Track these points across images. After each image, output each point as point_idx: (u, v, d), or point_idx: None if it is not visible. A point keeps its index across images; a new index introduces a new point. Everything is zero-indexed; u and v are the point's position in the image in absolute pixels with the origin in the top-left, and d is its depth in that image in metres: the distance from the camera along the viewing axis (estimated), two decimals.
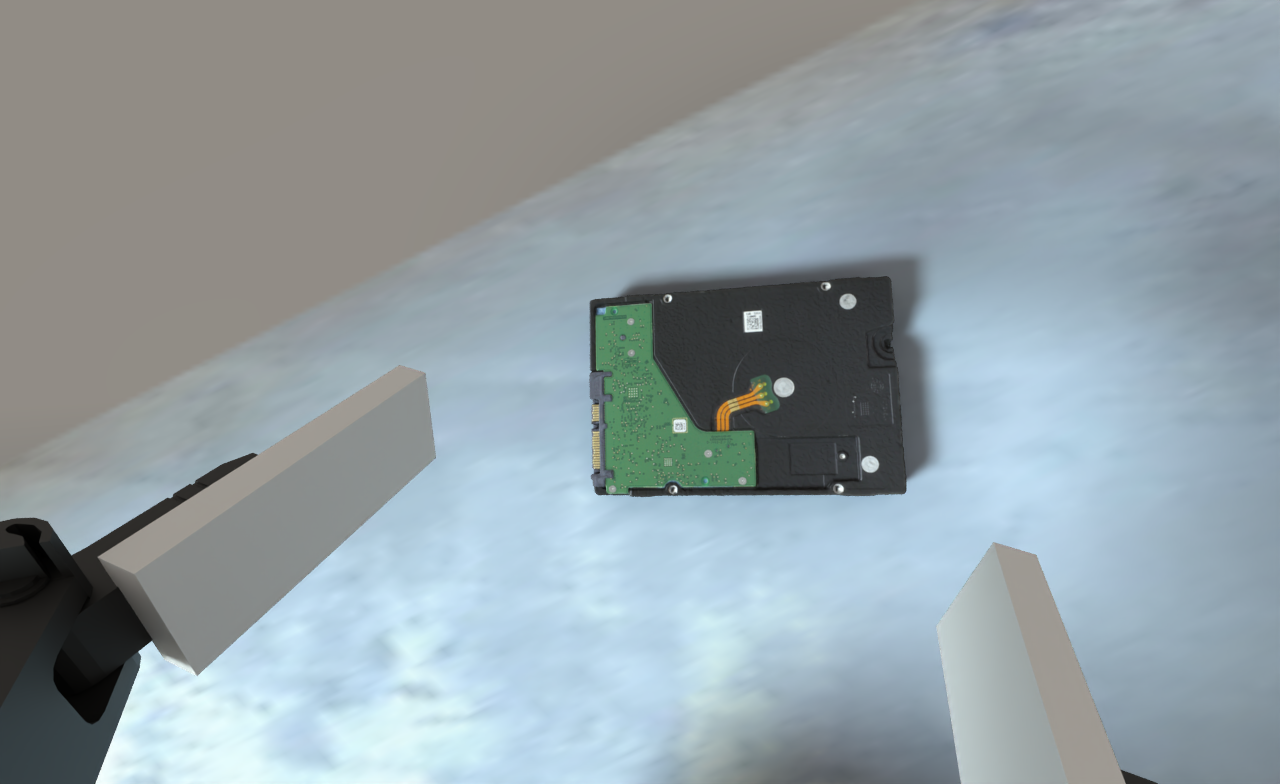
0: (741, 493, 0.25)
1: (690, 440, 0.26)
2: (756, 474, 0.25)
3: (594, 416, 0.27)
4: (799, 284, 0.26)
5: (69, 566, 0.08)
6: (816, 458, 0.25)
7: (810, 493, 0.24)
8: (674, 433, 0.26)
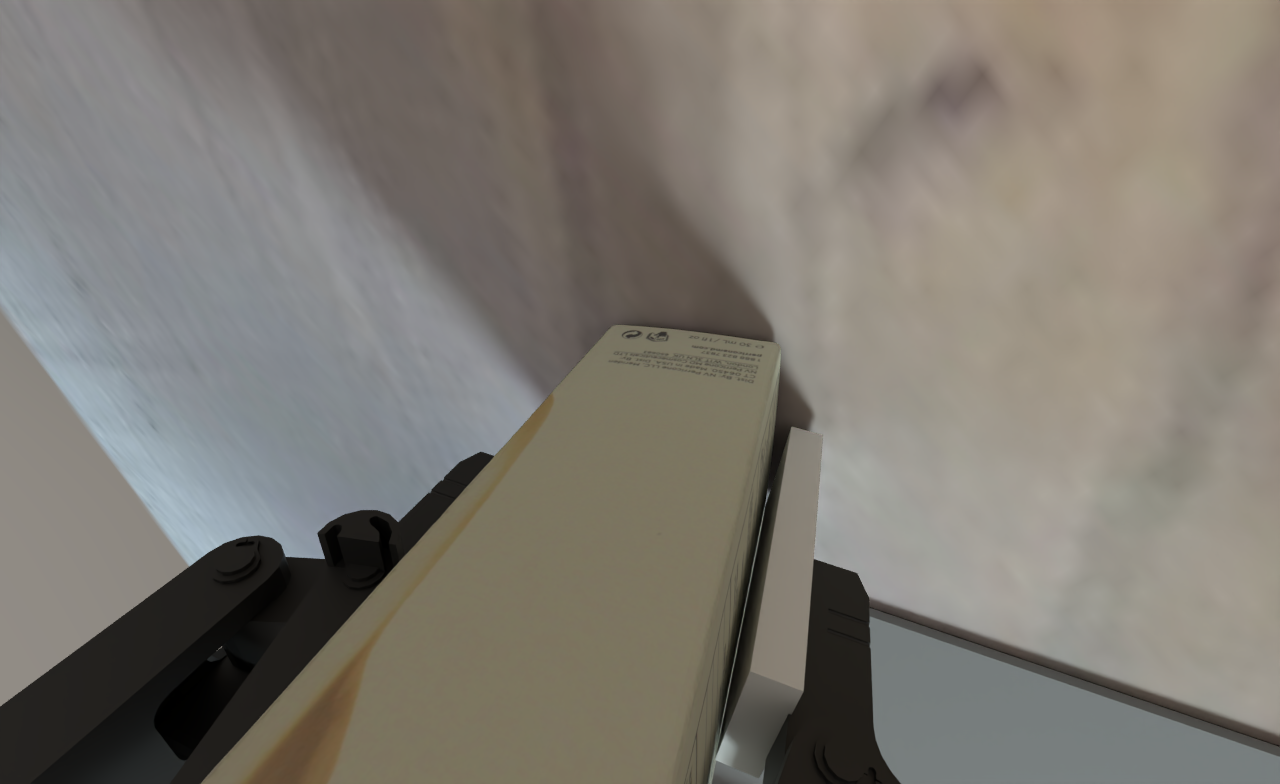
0: None
1: None
2: None
3: None
4: None
5: None
6: None
7: None
8: None
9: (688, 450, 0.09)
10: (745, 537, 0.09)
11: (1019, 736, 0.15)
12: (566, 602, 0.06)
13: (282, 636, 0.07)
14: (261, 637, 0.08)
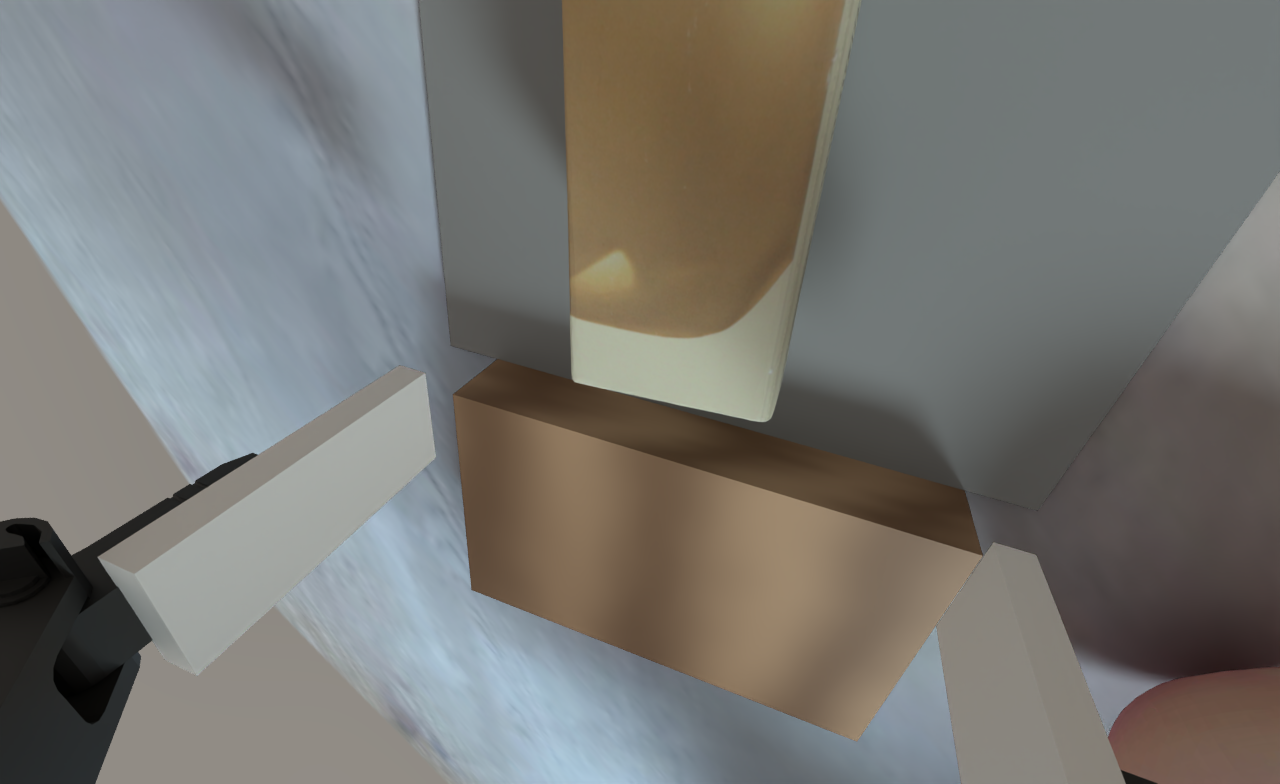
0: None
1: None
2: None
3: None
4: None
5: (69, 566, 0.08)
6: None
7: None
8: None
9: None
10: None
11: (943, 18, 0.11)
12: None
13: None
14: None
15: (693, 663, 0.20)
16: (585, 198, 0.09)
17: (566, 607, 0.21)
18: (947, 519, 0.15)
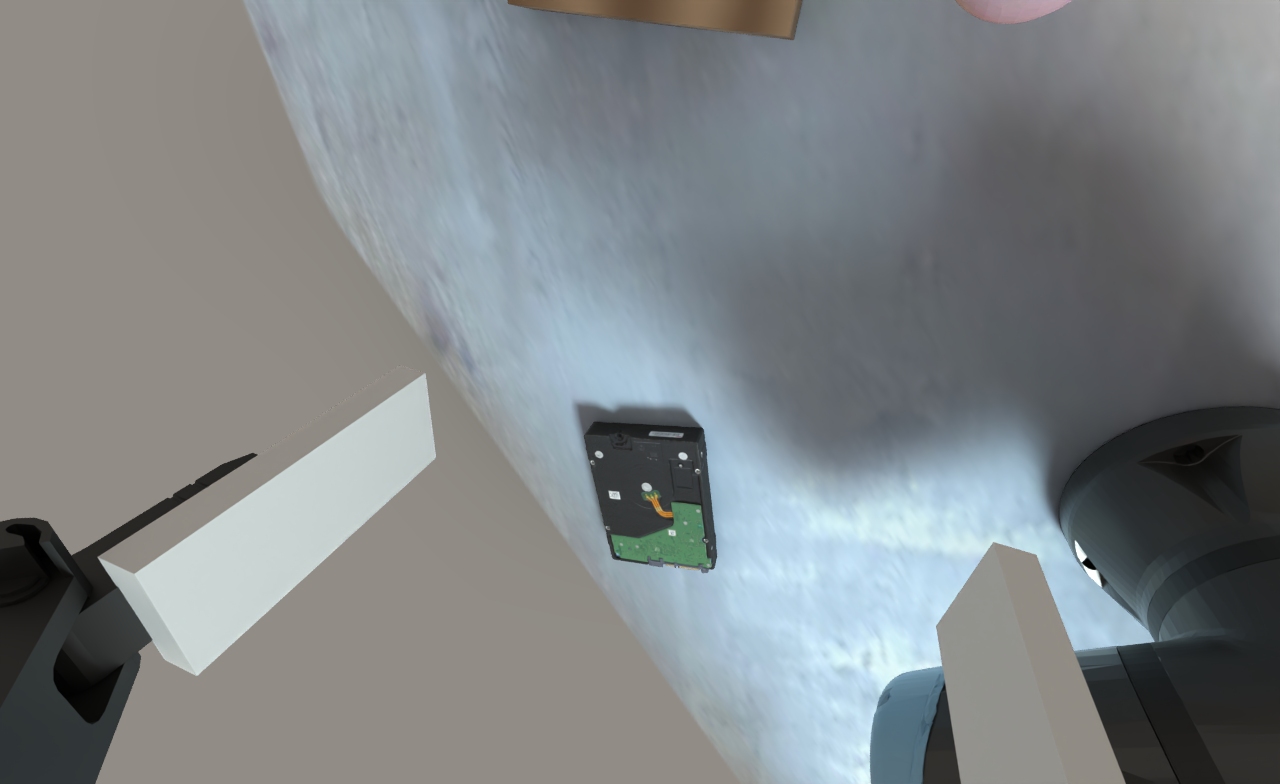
0: (704, 512, 0.45)
1: (679, 529, 0.47)
2: (694, 503, 0.46)
3: (672, 565, 0.50)
4: (593, 473, 0.47)
5: (69, 566, 0.08)
6: (683, 475, 0.45)
7: (701, 483, 0.44)
8: (676, 535, 0.48)
9: None
10: None
11: None
12: None
13: None
14: None
15: (672, 3, 0.28)
16: None
17: None
18: None
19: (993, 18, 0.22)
